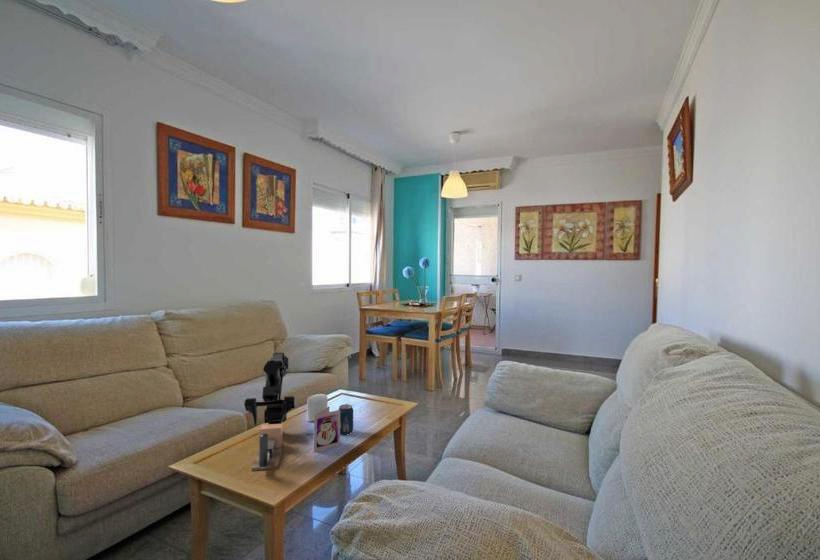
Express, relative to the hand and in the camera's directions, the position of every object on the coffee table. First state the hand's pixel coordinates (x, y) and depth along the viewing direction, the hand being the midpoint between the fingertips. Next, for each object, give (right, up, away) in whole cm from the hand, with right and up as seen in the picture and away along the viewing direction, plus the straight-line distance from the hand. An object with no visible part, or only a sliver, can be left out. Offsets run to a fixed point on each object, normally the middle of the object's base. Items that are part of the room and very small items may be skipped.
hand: (267, 424), depth 145 cm
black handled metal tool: (0, -12, -3) cm, 13 cm away
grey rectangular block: (-1, -13, +3) cm, 13 cm away
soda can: (+25, -14, +27) cm, 39 cm away
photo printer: (+9, -14, +42) cm, 45 cm away
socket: (-3, -13, +10) cm, 17 cm away
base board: (-1, -14, +3) cm, 14 cm away
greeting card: (+19, -14, +13) cm, 27 cm away
